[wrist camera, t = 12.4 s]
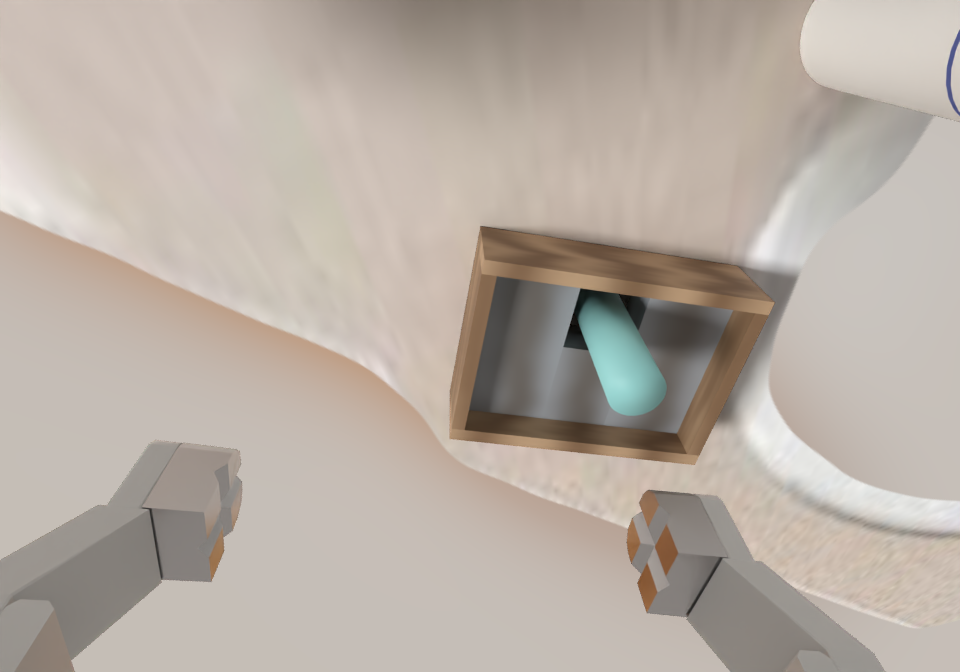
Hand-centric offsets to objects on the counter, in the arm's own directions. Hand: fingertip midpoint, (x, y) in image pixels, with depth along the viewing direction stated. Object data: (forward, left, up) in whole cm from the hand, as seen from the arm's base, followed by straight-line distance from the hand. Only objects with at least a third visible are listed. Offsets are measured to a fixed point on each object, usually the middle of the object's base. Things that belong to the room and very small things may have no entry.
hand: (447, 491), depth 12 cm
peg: (+13, -10, -31) cm, 35 cm away
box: (+13, -13, -31) cm, 36 cm away
